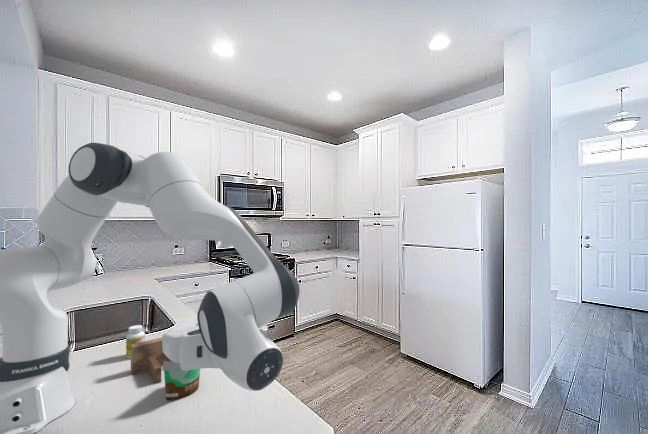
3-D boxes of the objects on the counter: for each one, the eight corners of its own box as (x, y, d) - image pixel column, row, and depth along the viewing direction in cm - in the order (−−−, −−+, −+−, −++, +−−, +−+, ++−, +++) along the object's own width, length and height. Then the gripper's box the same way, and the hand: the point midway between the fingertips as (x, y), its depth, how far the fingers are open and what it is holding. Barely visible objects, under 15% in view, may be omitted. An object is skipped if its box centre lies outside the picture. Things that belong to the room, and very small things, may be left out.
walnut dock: (138, 389, 79) (138, 358, 79) (130, 371, 89) (130, 344, 89) (213, 365, 92) (213, 339, 92) (199, 352, 102) (199, 328, 102)
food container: (183, 406, 71) (184, 364, 72) (161, 403, 73) (162, 362, 73) (212, 380, 83) (212, 344, 84) (193, 378, 85) (193, 342, 85)
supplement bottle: (148, 352, 102) (148, 324, 103) (137, 359, 97) (137, 329, 97) (133, 351, 103) (133, 324, 103) (122, 358, 97) (122, 329, 98)
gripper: (271, 315, 67) (244, 303, 77) (173, 338, 53) (156, 320, 64) (272, 343, 66) (244, 328, 77) (173, 374, 53) (156, 350, 64)
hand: (203, 325), depth 70 cm, fingers closed
